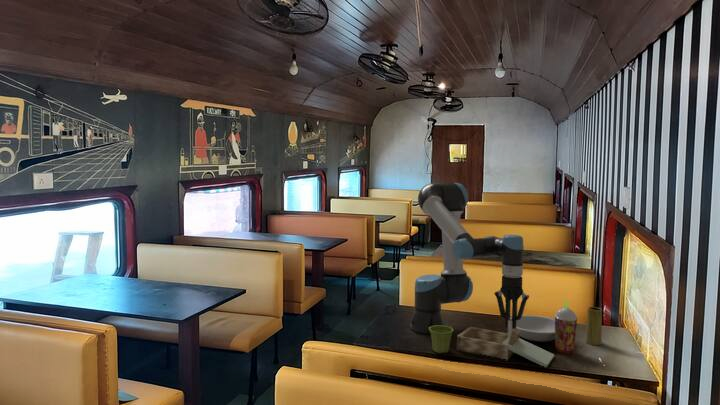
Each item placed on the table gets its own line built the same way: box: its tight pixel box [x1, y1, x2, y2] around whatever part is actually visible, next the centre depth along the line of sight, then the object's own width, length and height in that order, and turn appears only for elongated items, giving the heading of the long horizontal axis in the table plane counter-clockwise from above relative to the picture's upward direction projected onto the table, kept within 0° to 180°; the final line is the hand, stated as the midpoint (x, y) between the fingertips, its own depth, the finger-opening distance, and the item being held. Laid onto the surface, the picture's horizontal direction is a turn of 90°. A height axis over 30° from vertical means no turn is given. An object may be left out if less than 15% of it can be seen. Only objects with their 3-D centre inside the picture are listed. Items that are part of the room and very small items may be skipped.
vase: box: [585, 306, 603, 346], centre depth 213 cm, size 6×6×14 cm
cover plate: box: [502, 330, 555, 368], centre depth 196 cm, size 17×12×5 cm
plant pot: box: [429, 325, 454, 354], centre depth 203 cm, size 9×9×9 cm
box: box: [456, 326, 515, 361], centre depth 205 cm, size 20×14×6 cm
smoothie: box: [553, 300, 578, 355], centre depth 203 cm, size 8×8×20 cm
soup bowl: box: [510, 314, 555, 343], centre depth 218 cm, size 24×24×7 cm
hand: (510, 336), depth 199 cm, fingers closed
